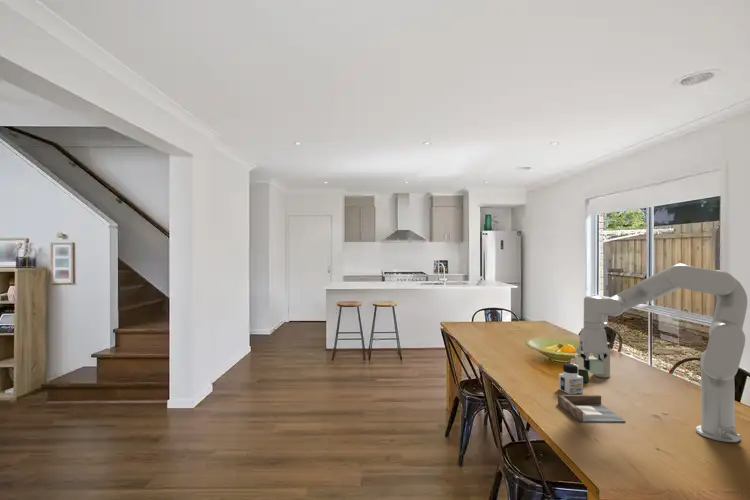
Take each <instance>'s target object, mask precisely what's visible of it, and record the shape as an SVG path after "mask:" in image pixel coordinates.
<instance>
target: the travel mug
mask: <svg viewBox="0 0 750 500" xmlns="http://www.w3.org/2000/svg"><path fill="white" fill-rule="evenodd" d="M610 344H611V343H610V342H608V341H607V347H608V348H609V350H610V351H611V349H610ZM592 354H593V356H592V357H595V358H597V359H598V355H597V354H594V353H592ZM603 362H604V370H603V374H593V375H594V376H595V377H598V378H604V379H605V378H610V377H611V354H609V355H608V356H607V357H606V358H605V359H604V361H603Z"/></svg>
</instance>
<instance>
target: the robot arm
mask: <svg viewBox="0 0 750 500" xmlns="http://www.w3.org/2000/svg"><path fill="white" fill-rule="evenodd" d="M679 289H685V290H689V291H695V292H698V293H699V292H700V293H705V294H709V295H715V297H716V305H715V308H714V309H715V310H714V314H713V317H712V321H711V324H710V327H709V329H708V336H709V338H708V342H707V345H706V349H705V350H704V351H703V352H702V353H701V355H700V424H699V425H696V427H695V432H697V434H699V435H700V436H703V437H705V438H708V439H710V440H713V441H718V442H723V443H737V442H740V441H741V439H742V435H741V434H739V433H738V432H737V428H736V427H735V422H736V421H735V393H736V392H735V390H736V389H735V376H736V375H737V373H738V371H739V367H740V363H741V360H742V357H743V353H744V348H745V346H746V345H745V344H746V335H745V332H744V330H743V329H744V323H745V319H746V316H747V315H746V313H747V309H748V294H747V291H746V290H745V288H744V286H743V285H742V283H741V282H740V281H739V280H737V278H735V277H734V275H732V274H731V273H729V272H727V271H725V270H720V269H710V268H709V269H708V268H703V267H696V266H693V265H689V264H688V265H687V264H685V263H677V264H674V265H671V266H669V267H667V268H666V269H663V270H661V271H659V272H657V273H655V274H653V275H650V276H649V277H647V278H645V279H643V280H641V281H639V282H637V283H636V284H634V285H633V286H630V287H629V288H627V289H624V290H623V291H620V292H619V293H616V294H615V295H612V296H610V297H606V298H603V297H602V296H595V295H588V296H587V295H586V296H584V298H583V327H582V328H580V329H581V330H580V334H579V340H578V347H577V349H575V353H576V354H577V355H580V356H581V357H582V358H583V359H584V367H585V369H587V370H589V369H590V361H589V360H588V359H589V356H590V354H593V353H594V354H597V355H598V359H599V360H601V361H604V359H605V358H606V357H607V356H608V355H609V354H610V355H611V354H612V351H611V349H610V350H609V348H610V347H609V348H608V347H607V342H608V339H607V338H608V337H607V331H606V330H605V327H608V324H607V322H604V320H605V318H604V317H605V316H609V317H619V316H621V315H622V314H623V313H624V312H626V311H628V310H629V309H632V308H635V307H637V306H639V305H642V304H643V303H647V302H652V301H656V300H658V299H660V298H662V297H664V296H666V295H669V294H671V293H672V292H675V291H677V290H679Z"/></svg>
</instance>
